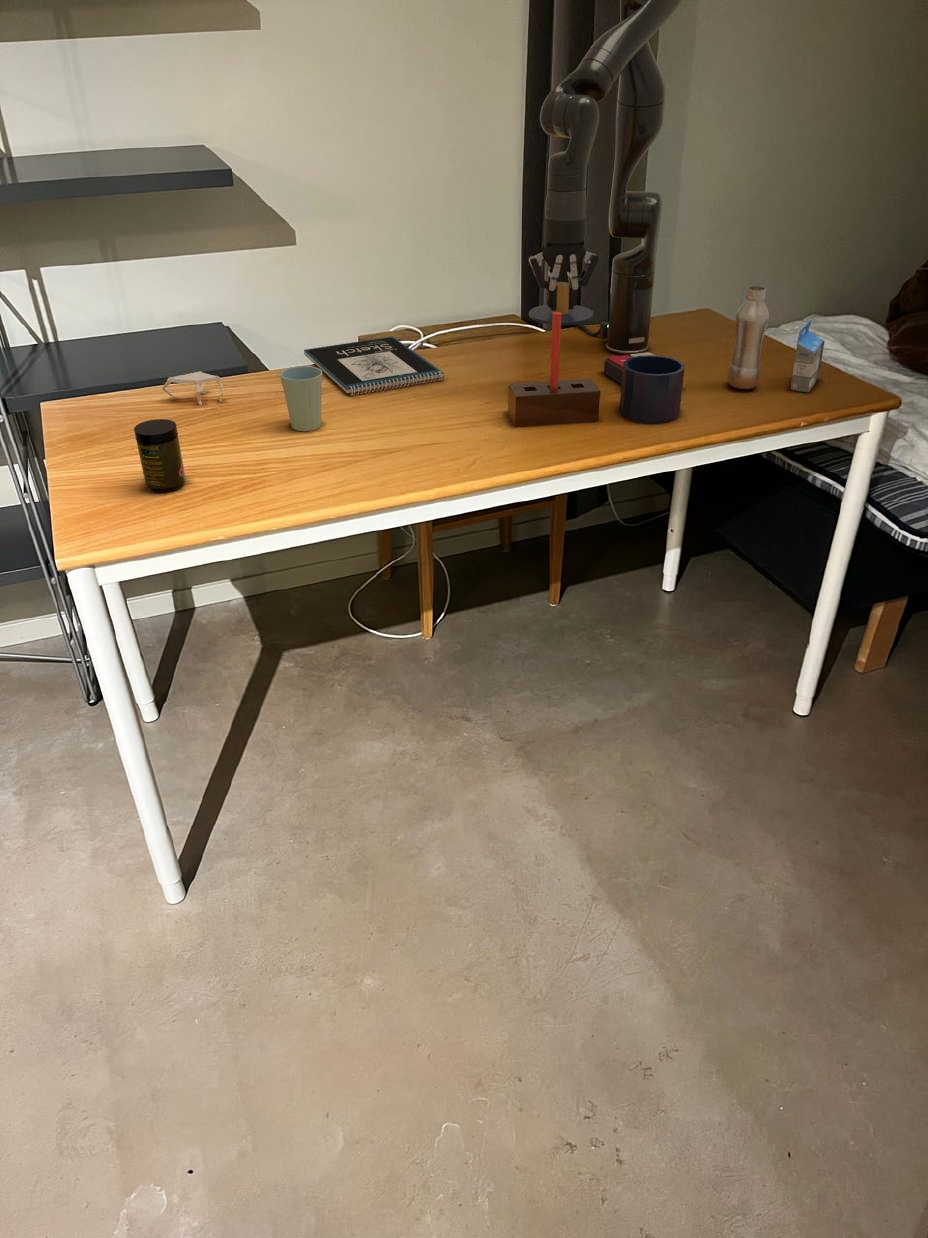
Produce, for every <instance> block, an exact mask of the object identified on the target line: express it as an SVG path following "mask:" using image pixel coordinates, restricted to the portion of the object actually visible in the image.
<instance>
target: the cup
mask: <svg viewBox="0 0 928 1238" xmlns="http://www.w3.org/2000/svg"><path fill="white" fill-rule="evenodd" d="M279 377H280V380H281V385H282V389H283V393H284V398H285V399H284V400H285V402H286V407H287V412H288V417H289V420H290V426H291V427H292V429H293V430H295V431H299V432H312V431H315V430H317V429H319V428H320V427H321V426H322V396H323V395H322V394H323V392H322V390H323V371H322V370H321V369H320V368H318V367H317V366H316V367H315V366H311V365H299V366H298V365H297V366H292V367H288V368H285V369H283V370H282V371H281V372H280V373H279Z"/></svg>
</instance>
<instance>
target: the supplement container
mask: <svg viewBox="0 0 928 1238" xmlns="http://www.w3.org/2000/svg"><path fill="white" fill-rule="evenodd" d="M133 432H134V437H135V441H136V445H137V450H138V456H139V460H140V465H141V470H142V475H143V480H144V485H145V486H146V488H147V490H150V491H152V492H154V493H170V492H174V491H177V490H179V489H181V488H182V487H184V485H185V483H186V482H187V481H186V480H187V478H186V473H185V467H184V461H183V456H182V451H181V450H182V449H181V445H180V438H179V431H178V425H177V423H176V422H175V421H174V420H172V419H167V418H166V419H165V418H157V419H149V420H146V421H142V422H140V423H138V424H136V425H135V426H134V427H133Z"/></svg>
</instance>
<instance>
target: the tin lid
mask: <svg viewBox="0 0 928 1238" xmlns="http://www.w3.org/2000/svg"><path fill="white" fill-rule="evenodd" d="M555 291H556V308H555V310H551V309H550V307H548V306H547V304H542V305H538V306H535V307H533V308H531V309H529V311H528V317H529V319H531V320H532V321H534V322H536V323H539V324H543V325H550V326H552V318H553V312H561V313H562V314H561V326H574V325H575V324H585V323H588V322H590V321H591V320H593V319H594V314H595V313H594V311H593V310H592V309H590V308H588V307H586V306H582V305H577V304H576V306H574V308H573V309H569V301H570V283H569V282H567V281H557V282H556V287H555Z"/></svg>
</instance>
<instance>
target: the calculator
mask: <svg viewBox="0 0 928 1238" xmlns="http://www.w3.org/2000/svg"><path fill="white" fill-rule="evenodd" d="M643 355H655V354H654V353H652V352H650V351H648V352H647V351H646V352H644V353H639V354H631V355H624V354H621V355H614V356H607V358H606V359H604V361H603V363H604V364H603V374H604V375H606V376H607V377H609V378H611V379H612V380H614V381H615V382H617V383H619V384H620V385H622V372H623V364H624V361H625V360H627V359H629V358H631V357H636V356H643ZM682 388H683V386H682Z"/></svg>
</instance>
